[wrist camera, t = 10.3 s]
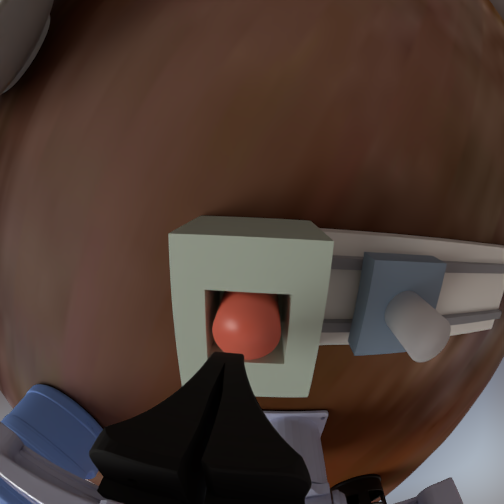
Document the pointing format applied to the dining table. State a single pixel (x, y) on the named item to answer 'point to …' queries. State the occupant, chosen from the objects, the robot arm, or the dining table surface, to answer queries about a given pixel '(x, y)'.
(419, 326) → the carriage
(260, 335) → the plunger
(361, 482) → the french press
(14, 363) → the dining table surface
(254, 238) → the track
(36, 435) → the water jug
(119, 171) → the dining table surface
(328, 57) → the dining table surface
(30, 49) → the decorative bowl
